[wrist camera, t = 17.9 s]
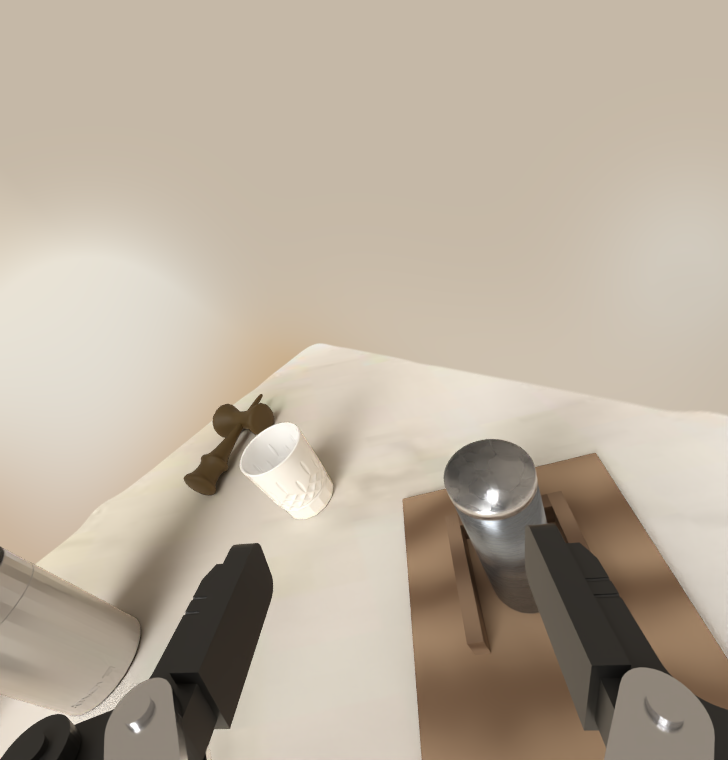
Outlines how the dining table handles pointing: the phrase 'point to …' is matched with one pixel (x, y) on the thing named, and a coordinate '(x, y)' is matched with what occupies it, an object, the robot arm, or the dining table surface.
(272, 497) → the white cup
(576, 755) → the walnut bracket
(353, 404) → the dining table surface
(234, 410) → the kendama
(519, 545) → the graphite canister
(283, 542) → the dining table surface
